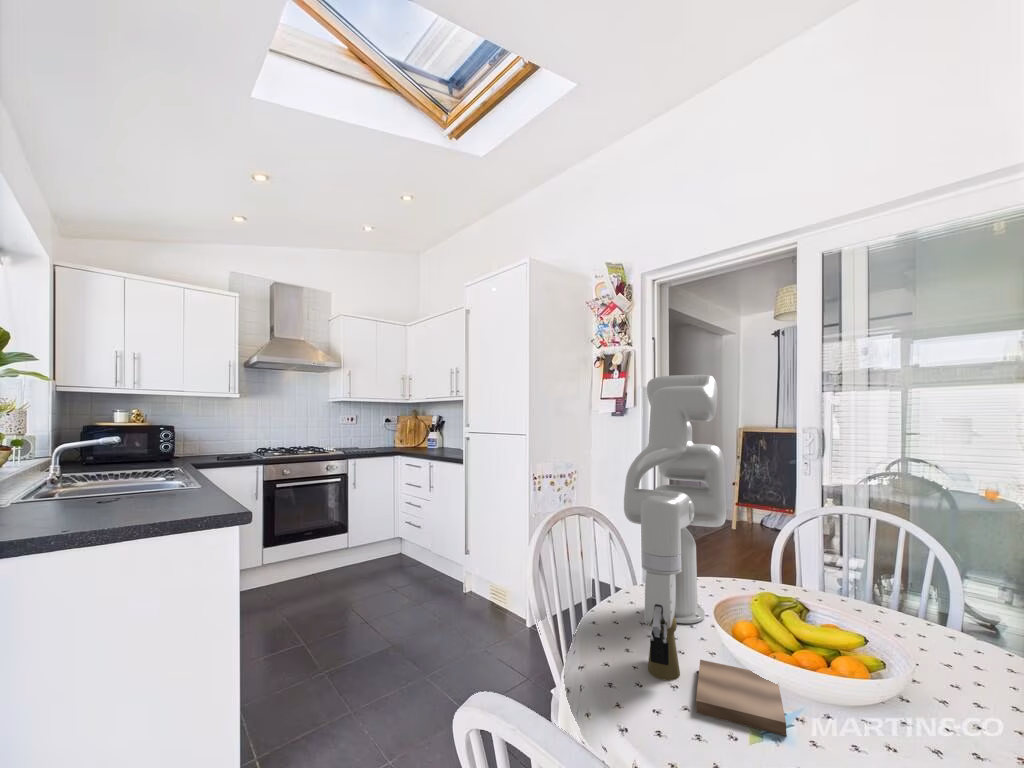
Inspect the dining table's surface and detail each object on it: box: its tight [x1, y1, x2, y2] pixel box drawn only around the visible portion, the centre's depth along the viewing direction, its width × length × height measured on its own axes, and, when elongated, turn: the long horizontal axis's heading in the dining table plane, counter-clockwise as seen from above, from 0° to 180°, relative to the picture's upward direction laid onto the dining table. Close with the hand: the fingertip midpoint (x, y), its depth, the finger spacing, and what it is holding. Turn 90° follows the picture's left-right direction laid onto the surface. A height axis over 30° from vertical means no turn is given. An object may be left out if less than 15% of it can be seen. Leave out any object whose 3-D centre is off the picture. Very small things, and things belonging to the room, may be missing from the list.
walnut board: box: [695, 659, 788, 737], centre depth 80 cm, size 14×13×2 cm
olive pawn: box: [647, 610, 681, 681], centre depth 89 cm, size 6×6×11 cm
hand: (663, 650), depth 89 cm, fingers open, 9 cm apart
